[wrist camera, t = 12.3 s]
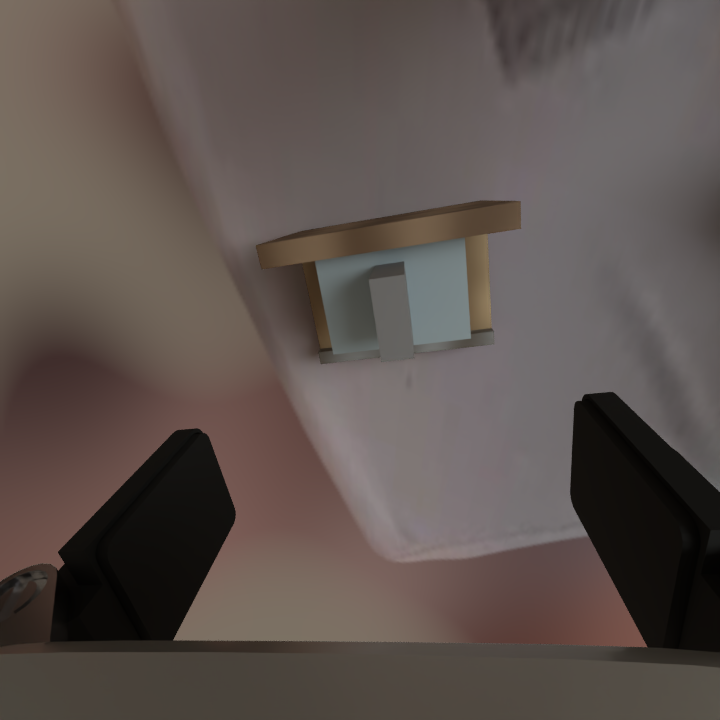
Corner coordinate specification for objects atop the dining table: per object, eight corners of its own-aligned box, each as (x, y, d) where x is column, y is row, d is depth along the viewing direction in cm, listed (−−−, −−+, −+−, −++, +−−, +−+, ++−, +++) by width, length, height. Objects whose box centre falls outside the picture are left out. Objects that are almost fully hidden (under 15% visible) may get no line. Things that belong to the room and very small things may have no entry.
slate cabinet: (450, 227, 32) (478, 244, 20) (456, 309, 35) (484, 366, 23) (333, 246, 34) (296, 272, 22) (347, 323, 37) (320, 383, 25)
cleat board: (481, 200, 33) (520, 201, 22) (487, 333, 38) (523, 389, 27) (301, 231, 36) (255, 245, 25) (326, 352, 40) (297, 411, 29)
